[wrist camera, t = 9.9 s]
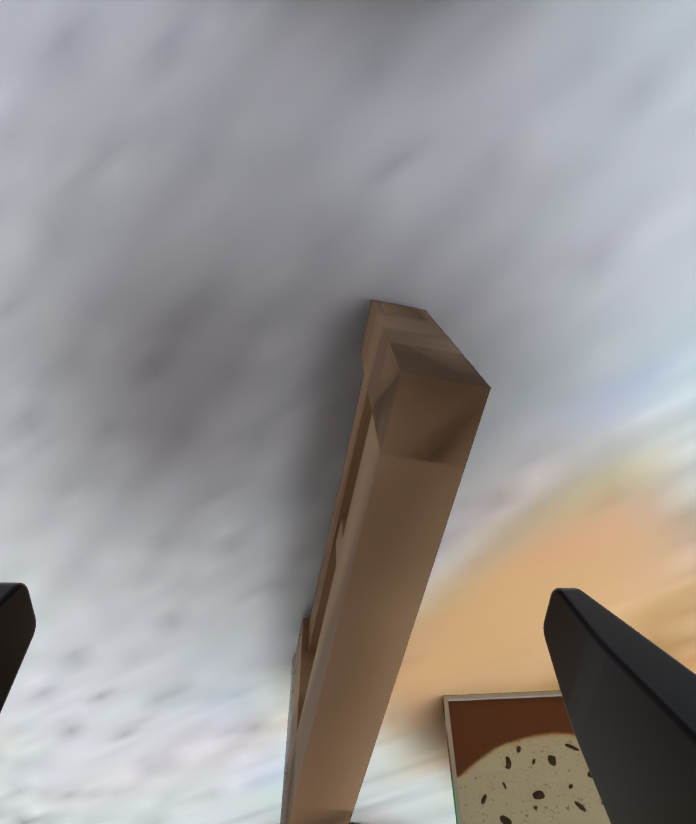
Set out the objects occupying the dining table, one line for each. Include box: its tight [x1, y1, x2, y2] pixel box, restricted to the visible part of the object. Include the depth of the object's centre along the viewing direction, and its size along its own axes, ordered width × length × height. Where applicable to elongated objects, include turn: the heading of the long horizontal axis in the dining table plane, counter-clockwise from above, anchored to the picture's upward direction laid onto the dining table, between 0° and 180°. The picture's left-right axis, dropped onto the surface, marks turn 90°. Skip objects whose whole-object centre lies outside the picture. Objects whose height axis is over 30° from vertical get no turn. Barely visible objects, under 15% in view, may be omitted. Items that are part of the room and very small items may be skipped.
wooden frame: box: [285, 300, 491, 824], centre depth 18 cm, size 2×17×8 cm, turn 169°
